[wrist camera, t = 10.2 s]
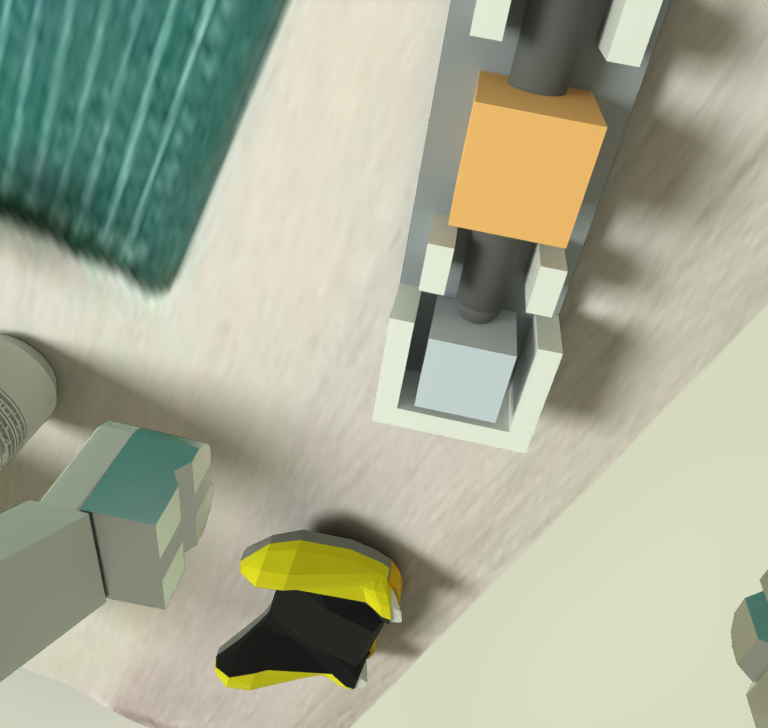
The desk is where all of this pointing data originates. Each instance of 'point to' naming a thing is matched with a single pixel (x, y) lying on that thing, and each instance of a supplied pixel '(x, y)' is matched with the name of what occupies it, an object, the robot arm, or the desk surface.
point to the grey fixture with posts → (535, 261)
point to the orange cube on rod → (511, 203)
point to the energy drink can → (22, 395)
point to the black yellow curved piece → (312, 611)
